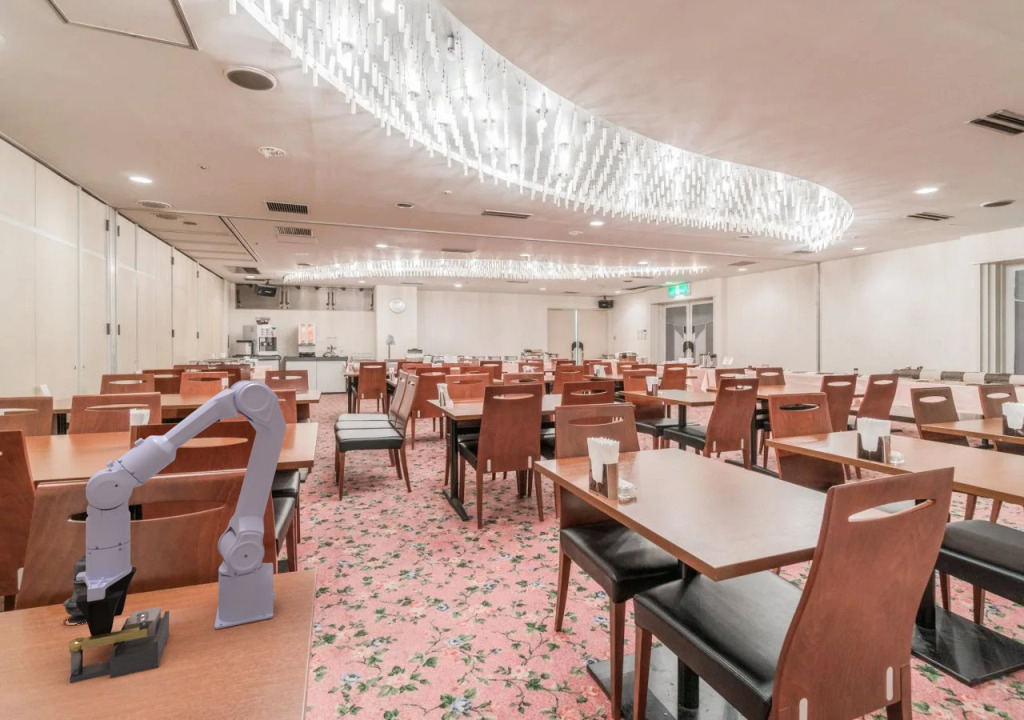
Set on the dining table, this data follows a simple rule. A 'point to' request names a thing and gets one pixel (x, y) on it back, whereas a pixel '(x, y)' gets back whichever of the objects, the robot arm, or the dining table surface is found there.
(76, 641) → the lever
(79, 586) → the grey tall flared piece
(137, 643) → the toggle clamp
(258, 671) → the dining table surface
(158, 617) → the knobbed drawer block
